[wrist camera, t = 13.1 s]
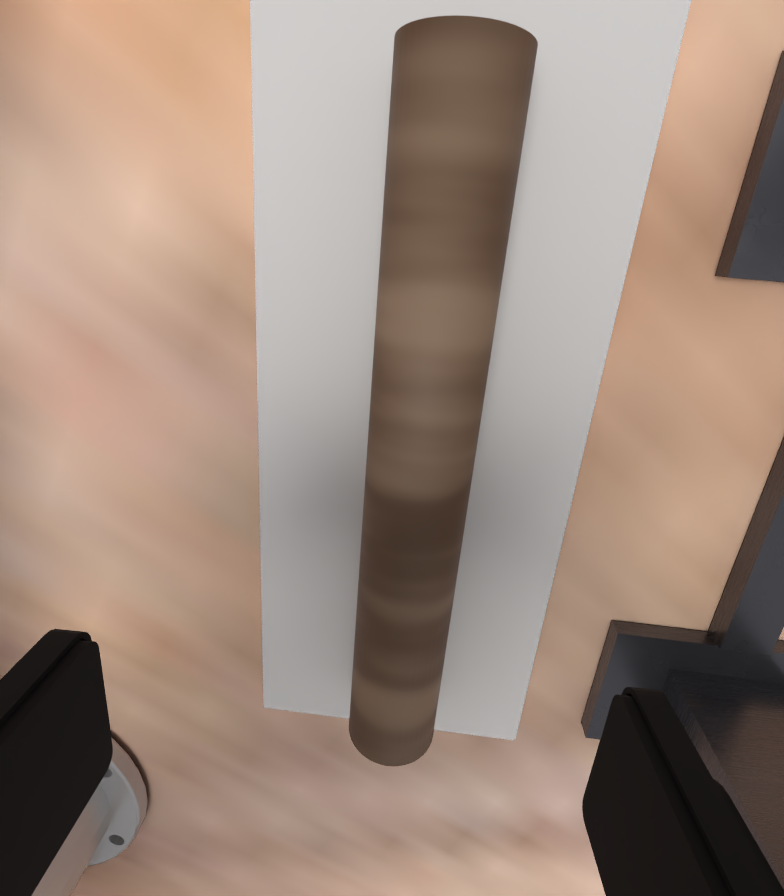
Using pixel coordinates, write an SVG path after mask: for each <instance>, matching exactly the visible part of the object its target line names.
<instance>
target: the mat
mask: <svg viewBox="0 0 784 896" xmlns="http://www.w3.org/2000/svg"><path fill="white" fill-rule="evenodd" d="M690 3H691V0H250V17H251V70H252V124H253V177H254V231H255V284H256V338H257V392H258V445H259V499H260V552H261V606H262V659H263V708H270V709H278V710H285V711H293V712H301V713H308V714H316V715H324V716H331V717H339V718H347V719H349V717H350V702H351V687H352V672H353V657H354V641H355V626H356V611H357V596H358V581H359V566H360V551H361V535H362V520H363V505H364V490H365V475H366V460H367V445H368V430H369V414H370V399H371V384H372V369H373V354H374V339H375V324H376V309H377V293H378V278H379V263H380V248H381V233H382V218H383V203H384V187H385V172H386V157H387V142H388V127H389V112H390V97H391V82H392V66H393V51H394V36H395V33H396V31H397V30H398V29H399V28H400V27H402V26H403V25H405V24H407V23H410V22H412V21H416V20H419V19H424V18H429V17H436V16H454V15H458V16H476V17H484V18H491V19H496V20H500V21H504V22H508V23H511V24H514V25H517V26H519V27H521V28H523V29H525V30H527V31H528V32H530V33H531V34H532V35H533V36H534V37H535V38H536V40H537V42H538V48H537V54H536V61H535V68H534V74H533V81H532V87H531V94H530V100H529V107H528V114H527V120H526V127H525V133H524V140H523V146H522V153H521V160H520V166H519V173H518V179H517V186H516V192H515V199H514V206H513V212H512V219H511V225H510V232H509V238H508V245H507V252H506V258H505V265H504V271H503V278H502V284H501V291H500V298H499V304H498V311H497V317H496V324H495V330H494V337H493V344H492V350H491V357H490V363H489V370H488V376H487V383H486V390H485V396H484V403H483V409H482V416H481V422H480V429H479V436H478V442H477V449H476V455H475V462H474V469H473V475H472V482H471V488H470V495H469V501H468V508H467V515H466V521H465V528H464V534H463V541H462V547H461V554H460V561H459V567H458V574H457V580H456V587H455V593H454V600H453V607H452V613H451V620H450V626H449V633H448V639H447V646H446V653H445V659H444V666H443V672H442V679H441V685H440V692H439V699H438V705H437V712H436V718H435V725H434V730H438V731H446V732H454V733H461V734H469V735H477V736H484V737H492V738H500V739H507V740H515V739H516V735H517V731H518V726H519V722H520V718H521V714H522V710H523V705H524V701H525V697H526V693H527V689H528V684H529V680H530V676H531V672H532V667H533V663H534V659H535V655H536V651H537V646H538V642H539V638H540V634H541V630H542V625H543V621H544V617H545V613H546V609H547V604H548V600H549V596H550V592H551V588H552V583H553V579H554V575H555V571H556V567H557V562H558V558H559V554H560V550H561V546H562V541H563V537H564V533H565V529H566V525H567V520H568V516H569V512H570V508H571V504H572V499H573V495H574V491H575V487H576V483H577V478H578V474H579V470H580V466H581V462H582V457H583V453H584V449H585V445H586V440H587V436H588V432H589V428H590V424H591V419H592V415H593V411H594V407H595V403H596V398H597V394H598V390H599V386H600V382H601V377H602V373H603V369H604V365H605V361H606V356H607V352H608V348H609V344H610V340H611V335H612V331H613V327H614V323H615V319H616V314H617V310H618V306H619V302H620V298H621V293H622V289H623V285H624V281H625V277H626V272H627V268H628V264H629V260H630V256H631V251H632V247H633V243H634V239H635V234H636V230H637V226H638V222H639V218H640V213H641V209H642V205H643V201H644V197H645V192H646V188H647V184H648V180H649V176H650V171H651V167H652V163H653V159H654V155H655V150H656V146H657V142H658V138H659V134H660V129H661V125H662V121H663V117H664V113H665V108H666V104H667V100H668V96H669V92H670V87H671V83H672V79H673V75H674V71H675V66H676V62H677V58H678V54H679V50H680V45H681V41H682V37H683V33H684V29H685V24H686V20H687V16H688V12H689V7H690Z"/></svg>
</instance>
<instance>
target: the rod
mask: <svg viewBox="0 0 784 896" xmlns="http://www.w3.org/2000/svg"><path fill="white" fill-rule="evenodd" d="M537 48H538V42H537V40H536V38H535V37H534V36H533V35H532V34H531V33H530V32H528V31H527V30H525V29H523V28H521V27H519V26H517V25H514V24H511V23H508V22H504V21H500V20H496V19H491V18H484V17H476V16H458V15H454V16H436V17H429V18H424V19H419V20H416V21H412V22H410V23H407V24H405V25H403V26H402V27H400V28H399V29H398V30H397V31H396V33H395V36H394V51H393V66H392V82H391V97H390V112H389V127H388V142H387V157H386V172H385V187H384V203H383V218H382V233H381V248H380V263H379V278H378V293H377V309H376V324H375V339H374V354H373V369H372V384H371V399H370V414H369V430H368V445H367V460H366V475H365V490H364V505H363V520H362V535H361V551H360V566H359V581H358V596H357V611H356V626H355V641H354V657H353V672H352V687H351V702H350V717H349V732H350V737H351V740H352V742H353V744H354V745H355V747H356V748H357V750H358V751H359V752H360V753H361V754H362V755H364V756H365V757H366V758H368V759H369V760H371V761H373V762H375V763H378V764H381V765H386V766H401V765H406V764H409V763H411V762H414V761H416V760H417V759H419V758H420V757H421V756H422V755H423V754H424V753H425V752H426V751H427V749H428V748H429V746H430V744H431V741H432V738H433V731H434V725H435V718H436V712H437V705H438V699H439V692H440V685H441V679H442V672H443V666H444V659H445V653H446V646H447V639H448V633H449V626H450V620H451V613H452V607H453V600H454V593H455V587H456V580H457V574H458V567H459V561H460V554H461V547H462V541H463V534H464V528H465V521H466V515H467V508H468V501H469V495H470V488H471V482H472V475H473V469H474V462H475V455H476V449H477V442H478V436H479V429H480V422H481V416H482V409H483V403H484V396H485V390H486V383H487V376H488V370H489V363H490V357H491V350H492V344H493V337H494V330H495V324H496V317H497V311H498V304H499V298H500V291H501V284H502V278H503V271H504V265H505V258H506V252H507V245H508V238H509V232H510V225H511V219H512V212H513V206H514V199H515V192H516V186H517V179H518V173H519V166H520V160H521V153H522V146H523V140H524V133H525V127H526V120H527V114H528V107H529V100H530V94H531V87H532V81H533V74H534V68H535V61H536V54H537Z"/></svg>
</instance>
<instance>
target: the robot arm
mask: <svg viewBox="0 0 784 896" xmlns="http://www.w3.org/2000/svg"><path fill="white" fill-rule="evenodd" d="M147 803H148V801H147V794H146V787H145V785H144V782H143V780H142V777H141V775H140V772H139V770H138V768H137V767H136V765H135V764H134V762H133V761H132V759H131V758H130V756H129V755H128V754H127V753H126V752H125V751H124V749H123V748H122V747H121V746H120V745H119V744H118V743H117V742H116V741H115V740H114V739H113V738H112V737H111V731H110V724H109V717H108V710H107V702H106V695H105V688H104V681H103V674H102V666H101V659H100V652H99V646H98V644H97V643H96V642H93V641H92V640H91V637H90V635H89V634H88V633H87V632H80V631H70V630H60V629H54V630H51V631H49V632H48V633H47V634H45V635H44V636H43V637H42V638H41V639H40V640H39V641H38V642H37V643H36V644H35V645H34V646H33V647H32V648H31V649H30V650H29V651H28V652H27V653H26V654H25V655H24V656H23V657H22V658H21V659H20V660H19V661H18V662H17V663H16V664H15V665H14V666H13V668H12V669H11V670H10V671H9V672H8V673H7V674H6V675H5V676H4V677H3V678H2V679H1V680H0V896H70V895H71V893H72V892H73V890H74V888H75V886H76V884H77V883H78V881H79V879H80V877H81V876H82V874H83V872H84V870H85V868H86V867H87V866H91V865H95V864H99V863H103V862H105V861H107V860H109V859H111V858H113V857H116V856H118V855H119V854H120V853H121V852H123V851H124V850H125V849H126V848H128V847H129V845H130V844H131V842H132V841H133V839H134V838H135V837H136V835H137V833H138V830H139V828H140V826H141V824H142V822H143V820H144V818H145V816H146V810H147ZM582 807H583V818H584V822H585V826H586V830H587V833H588V836H589V840H590V843H591V847H592V850H593V853H594V857H595V860H596V864H597V867H598V870H599V874H600V877H601V881H602V884H603V887H604V891H605V894H606V896H784V889H783V887H782V886H781V884H780V882H779V881H778V879H777V877H776V875H775V874H774V872H773V870H772V868H771V867H770V865H769V863H768V862H767V860H766V858H765V856H764V855H763V853H762V851H761V849H760V848H759V846H758V844H757V842H756V841H755V839H754V837H753V836H752V834H751V832H750V830H749V829H748V827H747V825H746V823H745V822H744V820H743V818H742V817H741V815H740V813H739V811H738V810H737V808H736V806H735V804H734V803H733V801H732V799H731V798H730V796H729V794H728V793H727V792H726V790H725V789H724V787H723V786H722V785H721V784H720V783H718V782H717V781H716V780H715V779H713V778H712V776H711V774H710V773H709V771H708V769H707V767H706V766H705V764H704V762H703V760H702V759H701V757H700V755H699V753H698V751H697V750H696V748H695V746H694V744H693V743H692V741H691V739H690V737H689V736H688V734H687V732H686V730H685V728H684V727H683V725H682V723H681V721H680V720H679V718H678V716H677V714H676V713H675V711H674V709H673V707H672V705H671V704H670V702H669V700H668V698H667V697H666V695H665V694H664V693H663V692H662V691H660V690H655V689H645V688H635V687H626V688H625V689H624V690H623V692H622V694H621V695H615V696H614V697H613V699H612V702H611V705H610V709H609V712H608V716H607V719H606V722H605V726H604V729H603V733H602V736H601V739H600V743H599V746H598V750H597V753H596V756H595V760H594V763H593V766H592V770H591V773H590V777H589V780H588V783H587V787H586V790H585V794H584V797H583V806H582Z"/></svg>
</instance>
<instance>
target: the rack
mask: <svg viewBox="0 0 784 896" xmlns="http://www.w3.org/2000/svg"><path fill="white" fill-rule="evenodd" d="M715 276H722V277H730V278H742V279H753V280H765V281H776V282H784V51H782V55H781V58H780V61H779V65H778V68H777V71H776V75H775V78H774V81H773V85H772V88H771V92H770V95H769V98H768V102H767V105H766V108H765V112H764V115H763V118H762V122H761V125H760V128H759V132H758V135H757V138H756V142H755V145H754V148H753V152H752V155H751V158H750V162H749V165H748V168H747V172H746V175H745V178H744V182H743V185H742V188H741V192H740V195H739V198H738V202H737V205H736V208H735V212H734V215H733V218H732V222H731V225H730V228H729V232H728V235H727V238H726V242H725V245H724V248H723V252H722V255H721V258H720V262H719V265H718V268H717V272H716V275H715ZM783 627H784V439H783V441H782V444H781V447H780V449H779V452H778V454H777V457H776V459H775V462H774V464H773V467H772V470H771V472H770V475H769V477H768V480H767V482H766V485H765V487H764V490H763V493H762V495H761V498H760V500H759V503H758V505H757V508H756V510H755V513H754V516H753V518H752V521H751V523H750V526H749V528H748V531H747V533H746V536H745V539H744V541H743V544H742V546H741V549H740V551H739V554H738V556H737V559H736V562H735V564H734V567H733V569H732V572H731V574H730V577H729V579H728V582H727V585H726V587H725V590H724V592H723V595H722V597H721V600H720V602H719V605H718V608H717V610H716V613H715V615H714V618H713V620H712V623H711V625H710V628H709V631H708V632H706V631H697V630H689V629H681V628H672V627H664V626H655V625H647V624H638V623H630V622H622V621H613V620H612V622H611V625H610V628H609V632H608V635H607V638H606V642H605V645H604V648H603V652H602V655H601V658H600V662H599V665H598V668H597V672H596V675H595V678H594V682H593V685H592V688H591V692H590V695H589V698H588V702H587V705H586V708H585V712H584V715H583V718H582V722H581V723H582V726H583V730H584V733H585V737H586V738H594V739H601V736H602V733H603V729H604V726H605V722H606V719H607V716H608V712H609V709H610V705H611V702H612V699H613V697H614V696H615V695H621V694H622V692H623V690H624V689H625V688H626V687H635V688H645V689H655V690H660V691H662V692H663V693H664V694H665V695H666V697H667V698H668V700H669V702H670V704H671V705H672V707H673V709H674V711H675V713H676V714H677V716H678V718H679V720H680V721H681V723H682V725H683V727H684V728H685V730H686V732H687V734H688V736H689V737H690V739H691V741H692V743H693V744H694V746H695V748H696V750H697V751H698V753H699V755H700V757H701V759H702V760H703V762H704V764H705V766H706V767H707V769H708V771H709V773H710V774H711V776H712V778H713V779H715V780H716V781H717V782H718V783H720V784H721V785H722V786H723V787H724V789H725V790H726V792H727V793H728V794H729V796H730V798H731V799H732V801H733V803H734V804H735V806H736V808H737V810H738V811H739V813H740V815H741V817H742V818H743V820H744V822H745V823H746V825H747V827H748V829H749V830H750V832H751V834H752V836H753V837H754V839H755V841H756V842H757V844H758V846H759V848H760V849H761V851H762V853H763V855H764V856H765V858H766V860H767V862H768V863H769V865H770V867H771V868H772V870H773V872H774V874H775V875H776V877H777V879H778V881H779V882H780V884H781V886H782V887H783V889H784V641H781V640H778V638H779V636H780V634H781V632H782V629H783Z"/></svg>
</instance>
